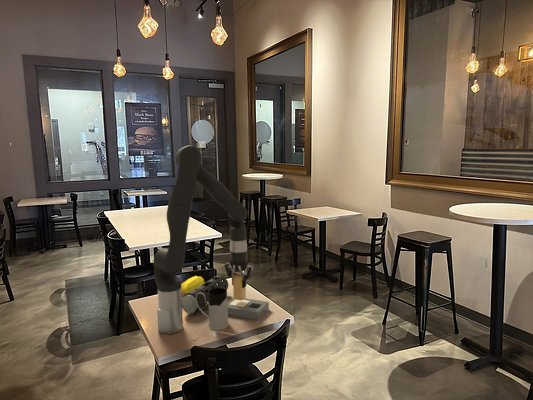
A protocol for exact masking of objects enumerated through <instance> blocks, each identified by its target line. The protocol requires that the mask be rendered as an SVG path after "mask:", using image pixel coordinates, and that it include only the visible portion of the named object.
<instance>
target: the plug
mask: <svg viewBox="0 0 533 400" xmlns="http://www.w3.org/2000/svg"><path fill="white" fill-rule="evenodd" d="M232 287H233V288H232V289H233V300H234V299H236V300H243V299H244V298H247V295H246V293H247V292H246V287H247V286H246V287H245V288H242V276H241V275H240V272H237V274H235V275H233V285H232Z"/></svg>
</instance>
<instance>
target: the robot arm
mask: <svg viewBox="0 0 533 400" xmlns="http://www.w3.org/2000/svg"><path fill="white" fill-rule="evenodd" d="M174 159H175V163H176V165H177V166H178V170H177V178H176V181H175V183H174V186H173V189H172V191H171V193H170V196H169V200H168V204H167V209H166V221H167V227H168V231H169V244H168V247H163V248H159V249H158V250H157V251H156V253H155V254H154V257H153V271H154V281H155V284H156V286H157V299H158V308H157V310H156V311H157V312H156V315H157V329H158V330H157V331H158V332H159V333H162V334H165V335H166V334H167V335H172V334H175V333H177V332H180V331H181V330H183V328H184V321H183V319H184V317H183V308H182V298H183V296H182V292H181V284H182V281H181V279H180V278H179V277H178V275H177V274H178V273H179V272H180V271H181V270H182V268H183V266H184V264H185V259H186V258H185V255H186V242H187V236H188V235H187V234H188V230H189V229H188V228H189V223H190V217H191V213H192V207H193V199H194V195H195V194H194V193H195V185H196V182H198V183H199V185H200V186H202V187H203V189H204V190H205V191H206V192H207V193H208V194H209V195H210V197H212V199H213V200H214V201H215V202H216V203H217V204H218V205H219V206H221V207H222V208H223V210H224V211H226V213H227V216H228V217H227V218H228V225H229V259H230V262H226V263H225V264H224V269H225V271H226V274H227V275H226V276H227V277H229V278H231V285H232V286H233V275H235V274H237V273H240V275H241V276H242V288H245V287H247V285H248V284H247V282H248V281H247V280H249V279H250V278H251V277H252V275H253V270H254V267H255V266H254V265H250V264H249V262H248V243H247V228H246V227H245V220H246V219H247V217H248V210H247V208H246V207H245V205H243V204H242V203H241V202H240V201H239V200H238V199H237V198H236V197H234V195H233V194H232V192H231V191H230V190H229V189H228V187H226V186H225V184H223V182H222V181H220V180H219V179H218V178H216V177H215V176H214V175H213V174H212V173H211V172H209V170H207V169H206V168H205V167H204V166H203V165H202V163H201V162H202V153H201V151H200V149H199V148H198V147H197V146H195V145H192V144H191V145H186V146H184V147H181V148H179V149H177V151H176V153H175V156H174Z"/></svg>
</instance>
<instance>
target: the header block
mask: <svg viewBox="0 0 533 400" xmlns="http://www.w3.org/2000/svg"><path fill="white" fill-rule="evenodd" d="M269 303H270V301H264V300H257V299H252V298H247V297H245V298H244V299H243V300H236V299H234V298H233V300H232V301H230V302H228V316H231V317H235V318H236V317H237V318H241V319H247V320H253V321H257V322H258V321H259V320H260V319H261V318H262V317H264V315H265V314H266V313H267V312H268V311H269V309H270V308H269V307H270V305H269Z"/></svg>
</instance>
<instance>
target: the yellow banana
mask: <svg viewBox="0 0 533 400" xmlns="http://www.w3.org/2000/svg"><path fill="white" fill-rule="evenodd" d="M204 283H205V279H204V278H203V277H202V276H197V275H194V276H192V277H190V278H188V279H186V280H185V281H183V282H181V292H182V297H184V295H185V294H186V293H188V292H189V291H191V290H194V289H196V288H197V287H199V286H201V285H202V284H204Z"/></svg>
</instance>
